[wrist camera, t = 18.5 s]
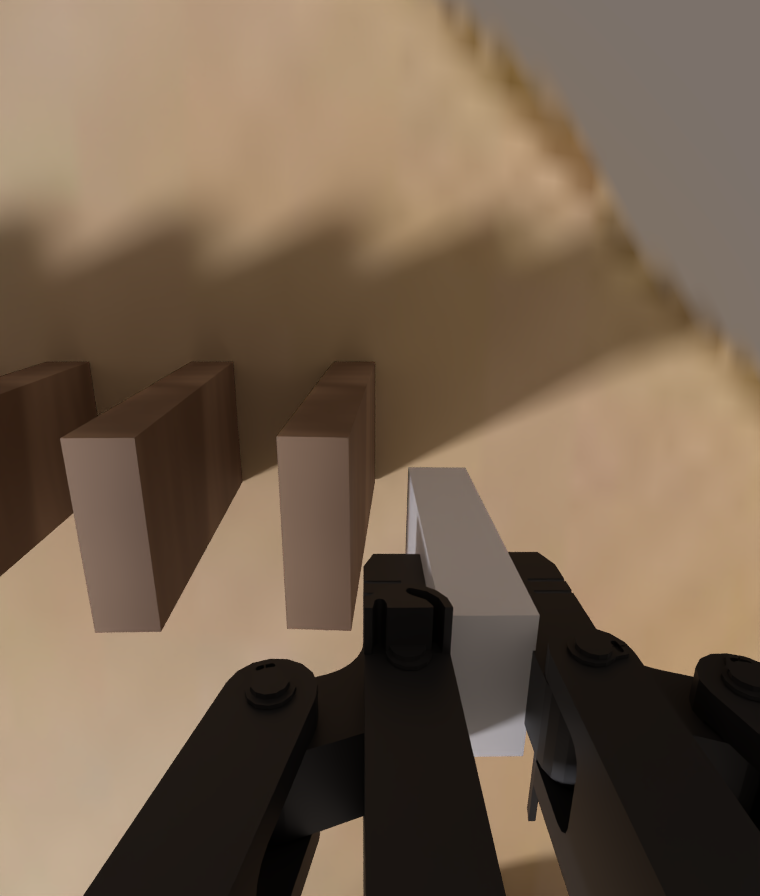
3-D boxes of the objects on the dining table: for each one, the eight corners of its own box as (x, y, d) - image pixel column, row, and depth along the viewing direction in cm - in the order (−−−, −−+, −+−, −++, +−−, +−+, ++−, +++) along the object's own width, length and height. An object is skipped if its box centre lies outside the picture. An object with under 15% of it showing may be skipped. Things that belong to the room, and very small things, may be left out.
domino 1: (68, 483, 23) (-135, 636, 14) (46, 361, 22) (-201, 439, 12) (107, 482, 23) (-68, 635, 14) (88, 361, 22) (-124, 438, 12)
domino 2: (203, 482, 23) (95, 632, 14) (191, 361, 22) (59, 438, 12) (242, 481, 23) (161, 631, 14) (233, 361, 22) (134, 437, 12)
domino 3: (336, 481, 24) (287, 628, 14) (334, 361, 22) (276, 436, 12) (374, 481, 23) (351, 630, 14) (375, 361, 22) (348, 437, 12)
